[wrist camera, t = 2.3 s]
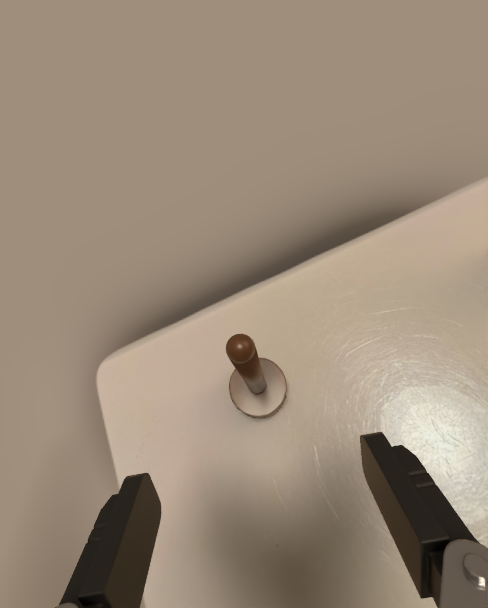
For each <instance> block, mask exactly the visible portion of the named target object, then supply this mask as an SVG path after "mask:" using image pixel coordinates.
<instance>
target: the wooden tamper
mask: <svg viewBox="0 0 488 608" xmlns="http://www.w3.org/2000/svg"><path fill="white" fill-rule="evenodd" d="M226 353H227V356H228V357H229V359H230V360H231V362H232V363H233V365H234V367H235V368H236V369H235V370H234V372H233V374H232V376H231V379H230V384H229V390H230V395H231V398H232V401H233V402H234V404H235V405H236V406H237V408H238V409H239V410H241V411H242V412H243V413H245V414H246V415H248V416H251V417H254V418H266V417H269V416H271V415H273V414H275V413H276V412H277V411H278V410H279V409H280V408H281V407H282V405H283V403H284V401H285V397H286V379H285V376H284V374H283V372H282V370H281V369H280V368H279V367H278V366H277V365H276V364H275V363H274V362H272V361H270V360H268V359H265V358H258V354H257V351H256V347H255V344H254V342H253V340H252V339H251V338H250V337H249V336H247V335H245V334H236V335H234V336H232V337H231V338H230V339H229V340H228V342H227V345H226Z"/></svg>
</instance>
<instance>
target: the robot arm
mask: <svg viewBox="0 0 488 608" xmlns="http://www.w3.org/2000/svg"><path fill="white" fill-rule="evenodd" d="M360 444H361V455H362V466H363V471H364V475H365V478H366V481H367V483H368V486H369V488H370V490H371V492H372V494H373V496H374V499H375V501H376V503H377V505H378V507H379V509H380V511H381V514H382V516H383V518H384V520H385V522H386V524H387V526H388V529H389V531H390V533H391V535H392V537H393V539H394V541H395V544H396V546H397V548H398V550H399V552H400V554H401V556H402V559H403V561H404V563H405V565H406V567H407V569H408V571H409V574H410V576H411V578H412V580H413V582H414V584H415V586H416V589H417V591H418V593H419V595H420V597H421V598H428V597H433V599H434V601H435V603H436V605H437V607H438V608H488V548H486V547H485V546H483V545H481V544H480V543H479V542H478V541H477V540H476V539H475V538H474V537H473V535H472V534H471V533H470V531H469V530H468V529H467V527H466V526H465V524H464V523H463V521H462V520H461V519H460V517H459V516H458V514H457V513H456V512H455V510H454V509H453V507H452V506H451V505H450V503H449V502H448V500H447V499H446V497H445V496H444V495H443V493H442V492H441V490H440V489H439V488H438V486H437V485H435V482H434V481H433V479H432V478H431V476H430V475H429V473H427V472H426V469H425V468H424V466H423V465H422V464H421V462H420V461H419V459H418V458H417V457H416V456H415V455H414V454H413V453H412V452H410V451H409V450H408V449H406V448H405V447H404V446H402V445H399V446H393V447H392V446H391V445H390V443H389V442H388V440H387V439H386V437H385V435H384V434H383V433H382V432H377V433H371V434H366V435H361V436H360ZM160 520H161V503H160V499H159V497H158V494H157V492H156V489H155V487H154V485H153V482H152V480H151V477H150V475H149V474H148V473H143V474H137V475H131V476H127V477H126V478H125V479H124V481H123V484H122V486H121V489H120V491H119V494H115V495H112V496H111V497H110V499H109V500H108V501H107V503H106V504H105V505H104V507H103V508H102V509H101V511H100V513H99V515H98V518H97V520H96V522H95V525H94V529H93V530H92V532H91V534H90V536H89V538H88V543H87V544H86V545H85V547H84V550H83V552H82V554H81V556H80V559H79V561H78V563H77V566H76V568H75V570H74V573H73V575H72V577H71V579H70V582H69V584H68V586H67V589H66V591H65V593H64V595H63V598H62V600H61V602H60V604H59V605H58V606H57V607H55V608H140V604H141V600H142V596H143V592H144V587H145V583H146V579H147V575H148V571H149V566H150V562H151V558H152V554H153V549H154V545H155V541H156V537H157V532H158V528H159V524H160Z"/></svg>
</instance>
